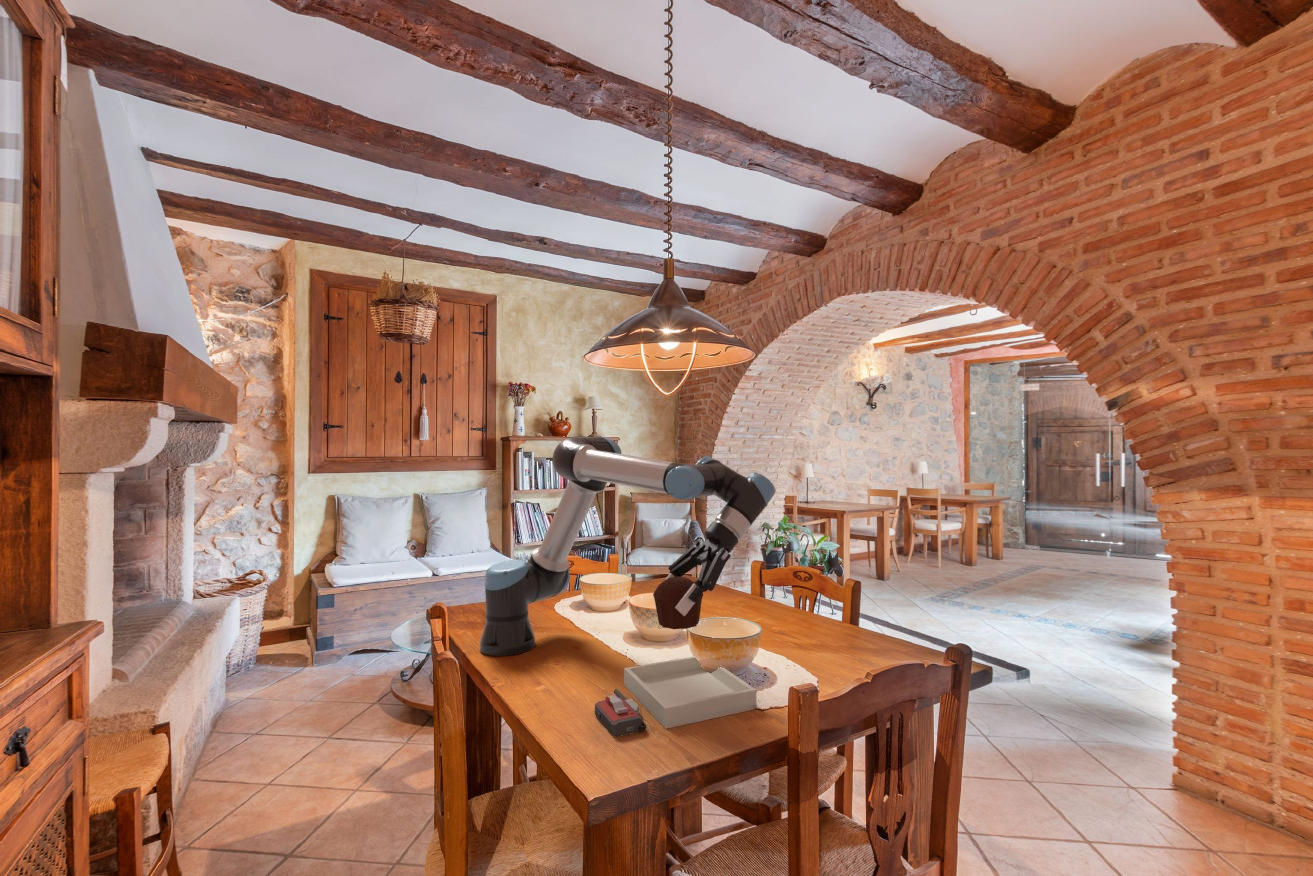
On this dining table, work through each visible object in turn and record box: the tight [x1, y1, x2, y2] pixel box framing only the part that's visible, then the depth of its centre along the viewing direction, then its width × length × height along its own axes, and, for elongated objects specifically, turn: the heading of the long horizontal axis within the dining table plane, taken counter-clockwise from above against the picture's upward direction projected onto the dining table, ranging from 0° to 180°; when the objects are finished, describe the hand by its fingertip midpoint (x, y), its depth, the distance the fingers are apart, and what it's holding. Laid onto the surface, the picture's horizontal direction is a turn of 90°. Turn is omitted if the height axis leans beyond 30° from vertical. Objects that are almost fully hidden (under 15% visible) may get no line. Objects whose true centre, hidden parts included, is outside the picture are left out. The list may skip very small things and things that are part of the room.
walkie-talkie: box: [594, 688, 647, 738], centre depth 126 cm, size 9×4×20 cm
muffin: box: [652, 576, 704, 630], centre depth 136 cm, size 12×11×10 cm
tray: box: [623, 655, 758, 729], centre depth 135 cm, size 24×21×4 cm
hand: (667, 605), depth 135 cm, fingers closed on muffin, 12 cm apart
